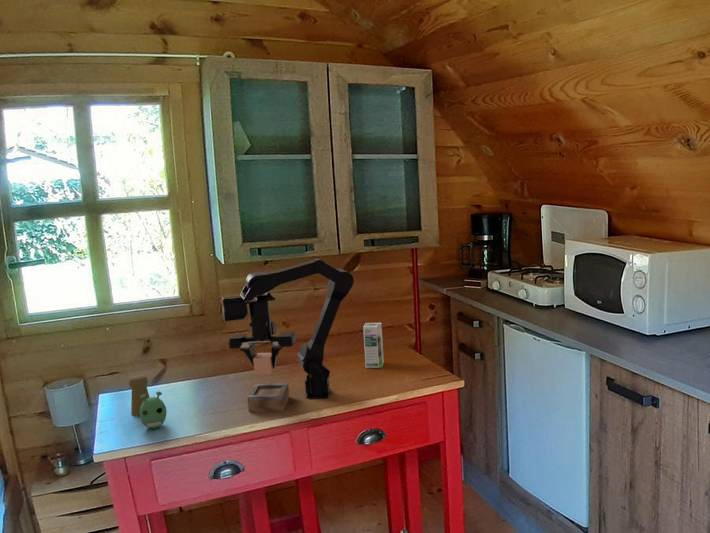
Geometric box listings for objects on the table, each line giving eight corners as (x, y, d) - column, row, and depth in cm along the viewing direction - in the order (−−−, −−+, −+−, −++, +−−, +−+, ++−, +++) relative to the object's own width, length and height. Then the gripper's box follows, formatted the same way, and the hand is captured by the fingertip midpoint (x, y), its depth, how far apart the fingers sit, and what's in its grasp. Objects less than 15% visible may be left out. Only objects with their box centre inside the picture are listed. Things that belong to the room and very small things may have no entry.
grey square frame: (289, 398, 180) (288, 383, 179) (283, 411, 170) (281, 395, 169) (256, 399, 181) (255, 384, 180) (248, 413, 171) (247, 397, 170)
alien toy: (140, 436, 160) (136, 400, 158) (142, 424, 167) (137, 390, 165) (168, 431, 162) (163, 396, 160) (168, 420, 169) (164, 386, 167)
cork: (140, 417, 172) (135, 381, 170) (126, 413, 175) (122, 378, 173) (157, 409, 177) (152, 374, 175) (143, 406, 180) (139, 371, 178)
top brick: (275, 368, 177) (274, 352, 176) (271, 374, 172) (270, 358, 171) (259, 369, 177) (257, 352, 176) (254, 375, 172) (253, 358, 171)
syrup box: (365, 368, 201) (362, 326, 199) (367, 362, 207) (365, 322, 204) (382, 368, 200) (379, 326, 198) (384, 362, 206) (381, 321, 203)
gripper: (297, 308, 178) (302, 358, 181) (237, 311, 181) (242, 360, 183) (289, 318, 167) (294, 371, 170) (225, 320, 170) (230, 373, 172)
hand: (265, 368), depth 174 cm, fingers closed on top brick, 5 cm apart
